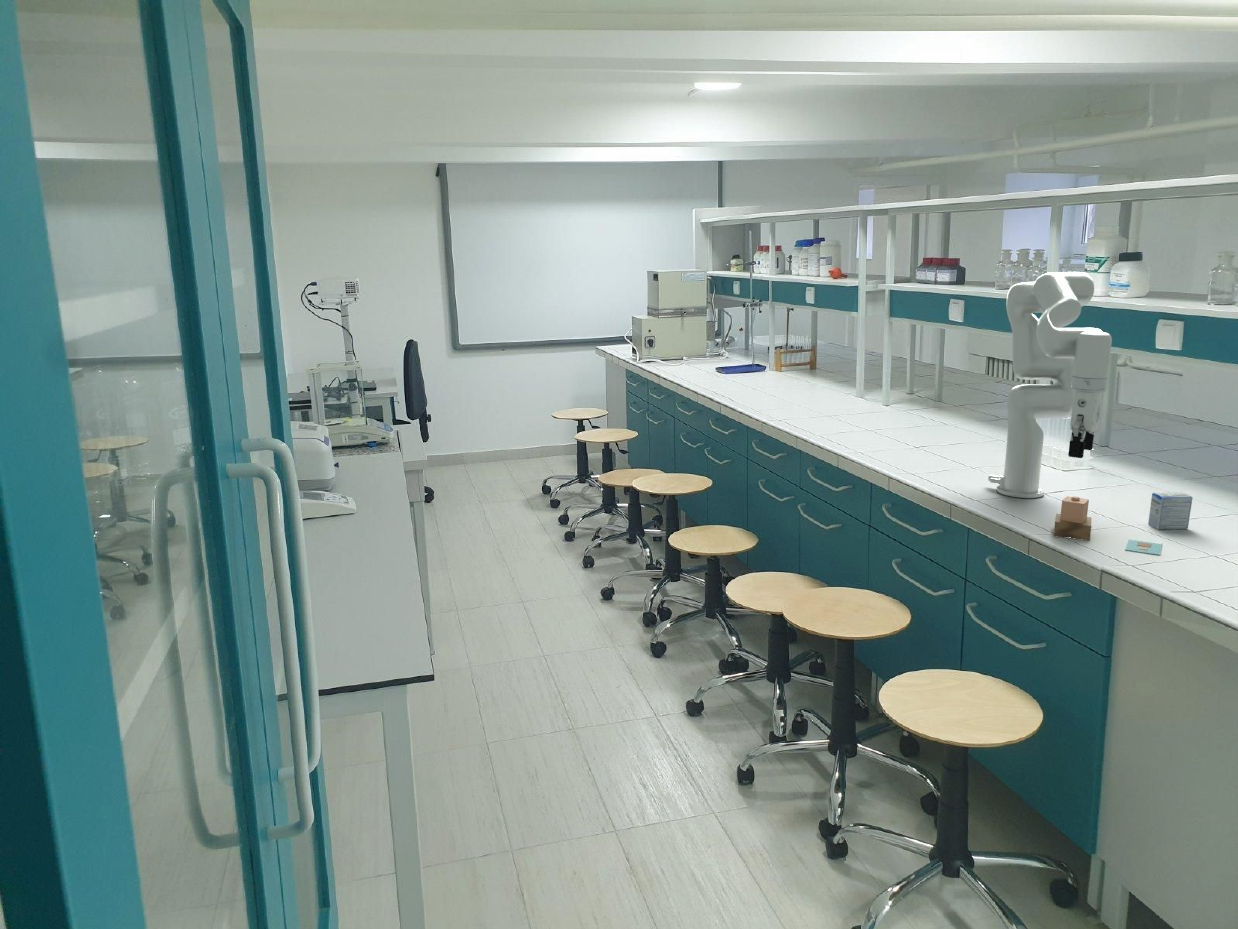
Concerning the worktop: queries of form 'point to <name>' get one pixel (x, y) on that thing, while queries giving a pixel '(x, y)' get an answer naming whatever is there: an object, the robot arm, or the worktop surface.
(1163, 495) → the medicine box
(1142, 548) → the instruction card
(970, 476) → the worktop surface
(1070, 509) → the painted brick
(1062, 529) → the walnut block
